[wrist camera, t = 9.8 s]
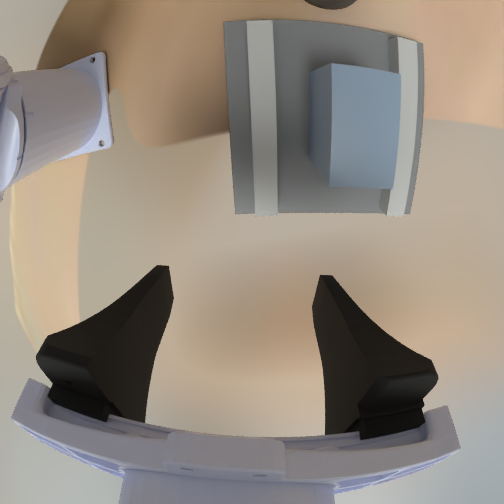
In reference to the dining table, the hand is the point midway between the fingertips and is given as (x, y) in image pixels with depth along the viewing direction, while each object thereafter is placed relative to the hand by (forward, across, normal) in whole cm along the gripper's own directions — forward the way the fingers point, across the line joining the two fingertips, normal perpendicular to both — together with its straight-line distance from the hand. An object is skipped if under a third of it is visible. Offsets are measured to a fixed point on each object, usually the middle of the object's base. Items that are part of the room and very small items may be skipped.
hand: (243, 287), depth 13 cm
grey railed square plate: (+9, -5, -8) cm, 13 cm away
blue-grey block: (+8, -5, -8) cm, 13 cm away
